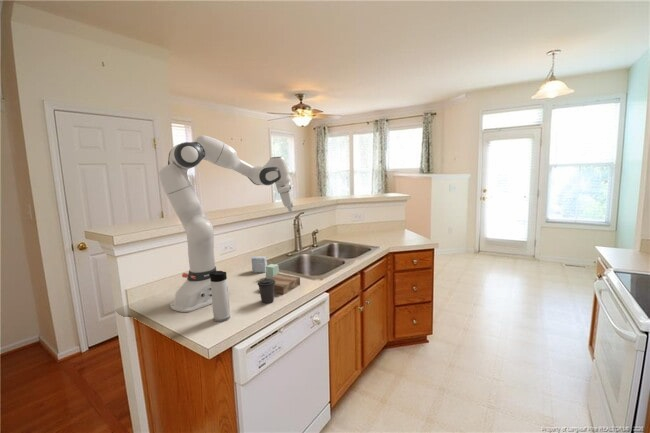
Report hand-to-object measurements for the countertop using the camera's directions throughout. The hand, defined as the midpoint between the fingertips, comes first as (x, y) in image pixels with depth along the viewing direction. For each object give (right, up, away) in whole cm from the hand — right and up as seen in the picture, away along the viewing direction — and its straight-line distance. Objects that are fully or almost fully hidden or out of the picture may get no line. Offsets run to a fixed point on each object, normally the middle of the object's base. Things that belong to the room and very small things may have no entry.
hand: (291, 209), depth 166 cm
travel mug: (-23, -45, -45) cm, 68 cm away
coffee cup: (-7, -43, -30) cm, 53 cm away
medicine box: (-20, -37, +11) cm, 43 cm away
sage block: (-10, -38, 0) cm, 39 cm away
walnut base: (-4, -40, -14) cm, 42 cm away
